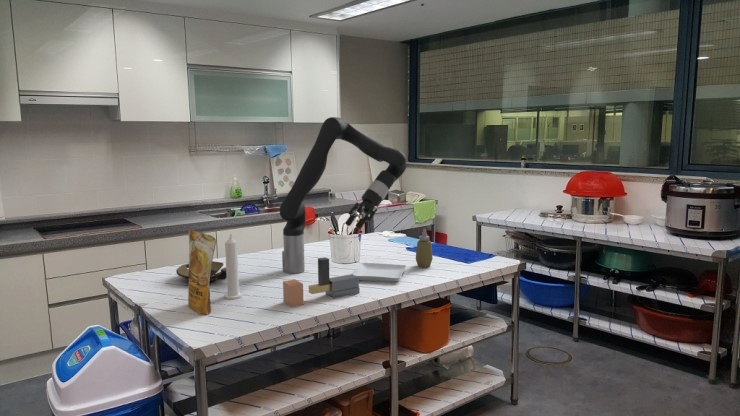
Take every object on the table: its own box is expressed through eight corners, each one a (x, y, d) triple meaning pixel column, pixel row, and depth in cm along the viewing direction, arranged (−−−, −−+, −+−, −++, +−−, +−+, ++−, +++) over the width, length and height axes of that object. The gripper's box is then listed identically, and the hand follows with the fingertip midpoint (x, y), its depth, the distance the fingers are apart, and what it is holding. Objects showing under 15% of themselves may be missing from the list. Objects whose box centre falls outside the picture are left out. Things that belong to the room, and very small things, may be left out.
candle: (233, 300, 202) (230, 236, 198) (220, 297, 205) (217, 234, 202) (246, 295, 208) (244, 233, 204) (233, 292, 211) (231, 231, 207)
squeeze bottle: (413, 267, 248) (413, 229, 246) (418, 263, 256) (418, 226, 253) (429, 269, 245) (430, 230, 243) (434, 264, 253) (435, 227, 250)
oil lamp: (218, 269, 247) (218, 253, 246) (244, 284, 223) (244, 266, 222) (169, 277, 234) (168, 260, 233) (191, 294, 210) (190, 275, 209)
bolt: (353, 283, 213) (353, 253, 211) (357, 285, 211) (357, 254, 209) (308, 292, 203) (307, 259, 201) (312, 294, 200) (311, 261, 198)
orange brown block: (295, 299, 202) (295, 279, 201) (303, 304, 197) (303, 283, 195) (283, 301, 200) (282, 281, 199) (291, 307, 194) (290, 286, 193)
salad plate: (400, 285, 222) (400, 277, 221) (350, 282, 226) (350, 274, 225) (406, 271, 242) (406, 264, 242) (361, 269, 246) (361, 262, 246)
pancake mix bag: (200, 299, 202) (196, 228, 198) (221, 313, 188) (217, 235, 184) (183, 303, 198) (178, 230, 194) (202, 317, 184) (198, 238, 179)
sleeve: (351, 289, 215) (351, 273, 214) (359, 293, 210) (359, 277, 209) (325, 294, 209) (325, 278, 208) (332, 298, 204) (332, 282, 203)
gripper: (360, 187, 217) (337, 218, 213) (378, 189, 204) (354, 222, 200) (372, 198, 220) (349, 229, 216) (390, 201, 208) (367, 234, 204)
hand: (352, 226), depth 208 cm, fingers open, 8 cm apart
